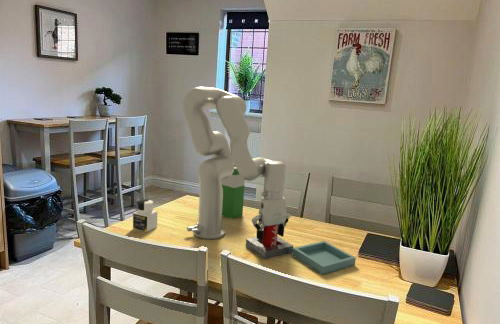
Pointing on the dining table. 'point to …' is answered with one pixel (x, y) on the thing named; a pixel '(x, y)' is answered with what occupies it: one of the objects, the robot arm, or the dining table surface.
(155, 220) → the medicine bottle
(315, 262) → the tray
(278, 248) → the grey square frame
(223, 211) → the green cereal box
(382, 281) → the dining table surface
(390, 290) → the dining table surface
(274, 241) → the soda can
